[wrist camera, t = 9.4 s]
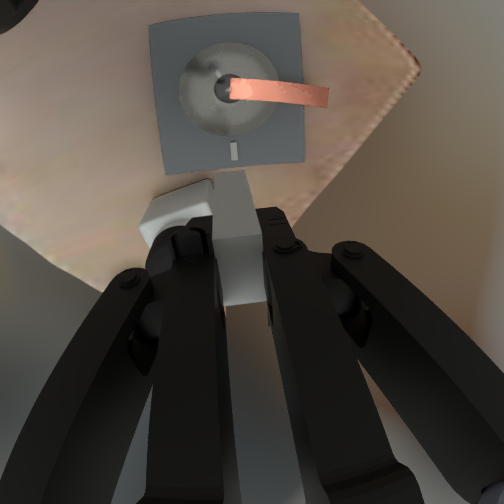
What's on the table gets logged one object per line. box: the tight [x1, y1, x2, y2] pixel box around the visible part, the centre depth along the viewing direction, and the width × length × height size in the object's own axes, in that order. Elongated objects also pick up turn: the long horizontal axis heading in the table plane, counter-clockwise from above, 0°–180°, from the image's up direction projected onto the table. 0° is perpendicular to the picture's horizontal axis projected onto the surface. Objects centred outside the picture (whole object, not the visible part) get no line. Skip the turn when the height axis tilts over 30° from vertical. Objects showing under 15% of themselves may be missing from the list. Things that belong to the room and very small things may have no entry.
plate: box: [149, 12, 305, 175], centre depth 27 cm, size 18×16×2 cm
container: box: [139, 179, 214, 277], centre depth 30 cm, size 8×8×13 cm
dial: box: [179, 43, 329, 136], centre depth 25 cm, size 14×10×5 cm
